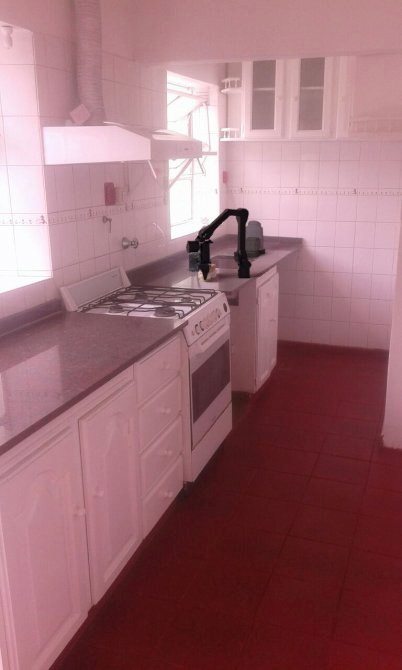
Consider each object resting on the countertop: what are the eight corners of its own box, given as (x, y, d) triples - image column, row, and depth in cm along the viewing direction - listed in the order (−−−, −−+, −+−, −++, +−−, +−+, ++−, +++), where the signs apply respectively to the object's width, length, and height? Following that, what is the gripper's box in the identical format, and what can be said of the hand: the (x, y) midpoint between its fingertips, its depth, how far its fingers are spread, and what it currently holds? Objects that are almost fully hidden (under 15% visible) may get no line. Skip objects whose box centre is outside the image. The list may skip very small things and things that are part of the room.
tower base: (216, 275, 368) (216, 269, 367) (215, 278, 358) (215, 272, 358) (200, 275, 369) (200, 269, 368) (198, 278, 360) (198, 272, 359)
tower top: (215, 269, 366) (215, 264, 365) (213, 272, 359) (213, 266, 358) (202, 269, 368) (202, 264, 367) (200, 272, 360) (200, 266, 359)
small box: (196, 271, 379) (196, 255, 376) (188, 271, 382) (188, 254, 380) (206, 269, 387) (206, 252, 384) (198, 268, 391) (198, 252, 388)
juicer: (245, 251, 458) (245, 218, 451) (267, 251, 454) (267, 218, 447) (238, 257, 430) (237, 222, 423) (260, 258, 426) (260, 222, 419)
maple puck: (211, 279, 352) (211, 273, 351) (210, 281, 346) (210, 274, 345) (200, 280, 353) (200, 273, 351) (199, 282, 347) (199, 275, 346)
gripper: (192, 249, 355) (193, 276, 359) (188, 254, 337) (189, 282, 341) (211, 249, 353) (212, 276, 358) (209, 254, 336) (209, 282, 340)
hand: (205, 279), depth 349 cm, fingers open, 7 cm apart
